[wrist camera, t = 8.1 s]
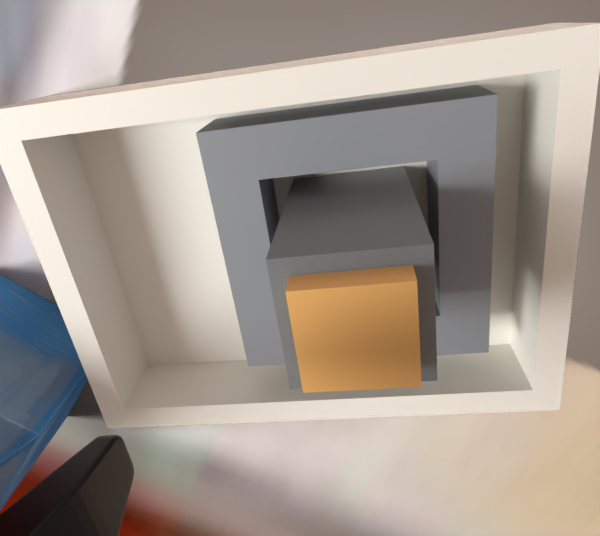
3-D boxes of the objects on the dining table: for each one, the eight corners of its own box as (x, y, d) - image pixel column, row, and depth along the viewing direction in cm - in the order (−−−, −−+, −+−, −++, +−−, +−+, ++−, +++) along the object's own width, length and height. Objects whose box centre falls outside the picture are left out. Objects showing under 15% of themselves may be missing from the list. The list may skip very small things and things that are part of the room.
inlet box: (528, 353, 21) (559, 409, 18) (139, 375, 24) (107, 428, 21) (554, 22, 16) (605, 22, 13) (42, 97, 18) (-21, 112, 15)
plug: (403, 165, 18) (439, 258, 11) (408, 265, 19) (442, 401, 12) (293, 178, 18) (260, 274, 11) (308, 274, 20) (286, 408, 13)
